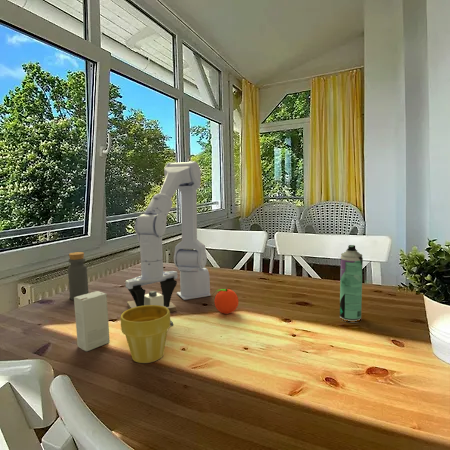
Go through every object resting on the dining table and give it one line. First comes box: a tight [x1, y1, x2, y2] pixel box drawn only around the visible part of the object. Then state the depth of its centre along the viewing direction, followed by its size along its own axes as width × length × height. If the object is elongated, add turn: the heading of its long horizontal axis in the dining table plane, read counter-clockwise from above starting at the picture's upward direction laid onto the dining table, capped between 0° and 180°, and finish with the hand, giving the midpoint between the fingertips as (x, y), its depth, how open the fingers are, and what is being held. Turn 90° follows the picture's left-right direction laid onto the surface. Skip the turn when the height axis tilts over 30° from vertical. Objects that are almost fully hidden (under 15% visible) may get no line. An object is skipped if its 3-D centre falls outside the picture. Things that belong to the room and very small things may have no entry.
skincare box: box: [73, 290, 110, 352], centre depth 82 cm, size 6×4×12 cm
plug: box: [144, 290, 164, 306], centre depth 95 cm, size 4×4×8 cm
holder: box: [126, 300, 177, 313], centre depth 107 cm, size 12×12×1 cm
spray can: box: [339, 244, 364, 321], centre depth 95 cm, size 6×6×20 cm
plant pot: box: [120, 305, 171, 364], centre depth 76 cm, size 10×10×10 cm
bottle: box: [67, 251, 89, 301], centre depth 118 cm, size 6×6×15 cm
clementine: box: [214, 288, 240, 315], centre depth 102 cm, size 8×7×7 cm
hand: (153, 309), depth 95 cm, fingers open, 7 cm apart
